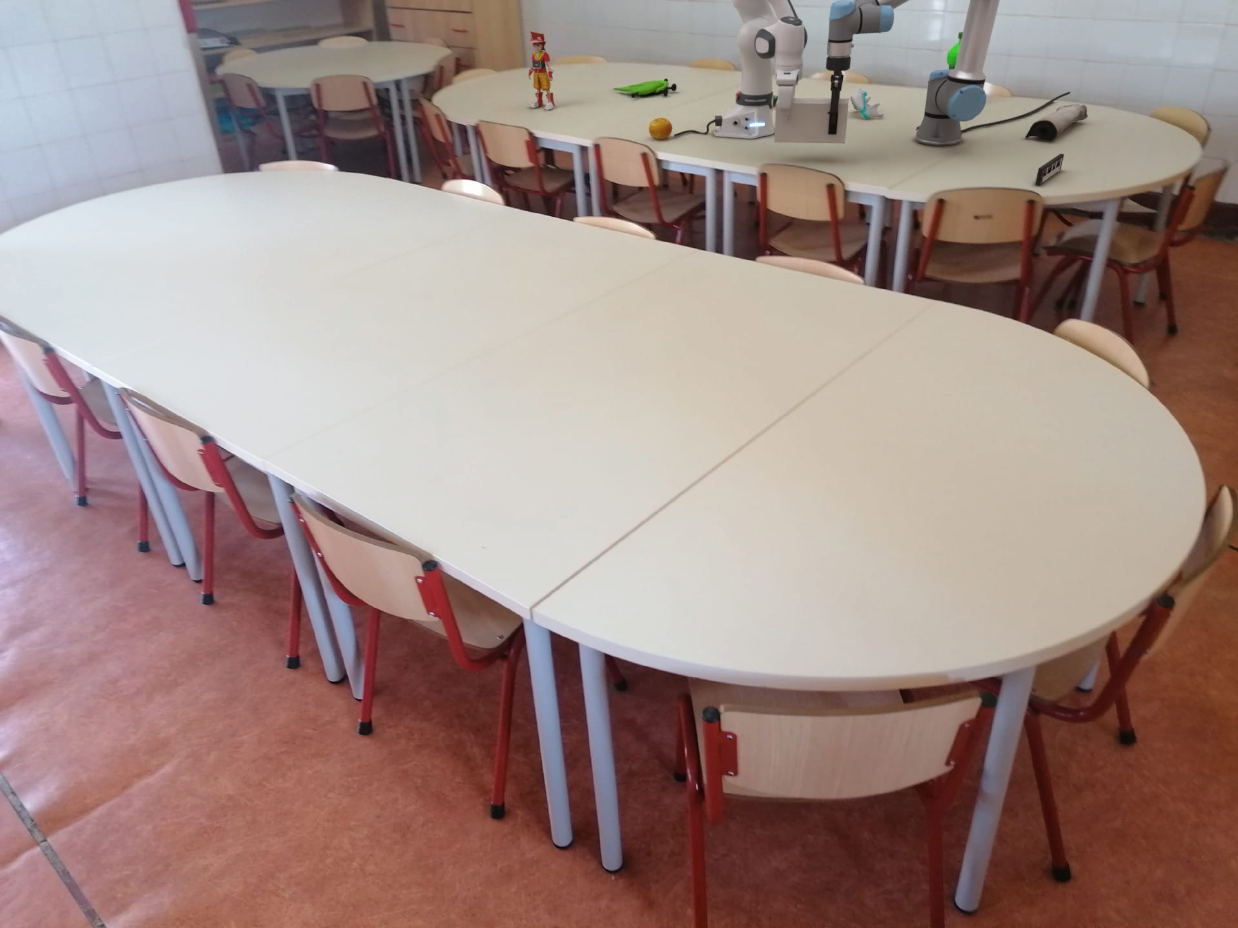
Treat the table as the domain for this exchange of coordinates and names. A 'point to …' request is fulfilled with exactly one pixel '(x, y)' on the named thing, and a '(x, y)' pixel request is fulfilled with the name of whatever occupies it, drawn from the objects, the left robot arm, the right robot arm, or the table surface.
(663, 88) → the toy
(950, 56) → the plastic bottle
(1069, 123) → the rolled mat
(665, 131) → the fruit
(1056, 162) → the midi keyboard
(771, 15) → the left robot arm
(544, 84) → the toy
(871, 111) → the anatomical model
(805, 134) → the box
